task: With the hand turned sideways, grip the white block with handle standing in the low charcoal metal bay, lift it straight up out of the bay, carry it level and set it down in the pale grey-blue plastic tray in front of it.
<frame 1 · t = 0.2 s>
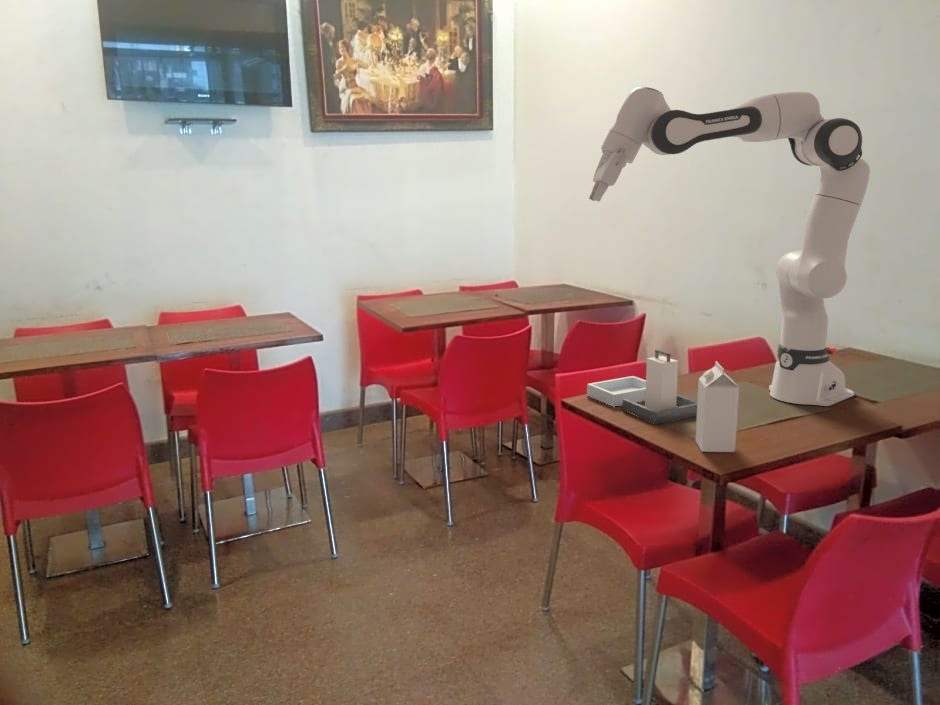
hand: (593, 200, 185), 54 cm above the table, tool tilted 25°, fingers open, 8 cm apart
tray: (623, 397, 199), on the table
milk carton: (714, 447, 161), on the table
white block with handle: (660, 412, 186), on the table
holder: (660, 411, 186), on the table
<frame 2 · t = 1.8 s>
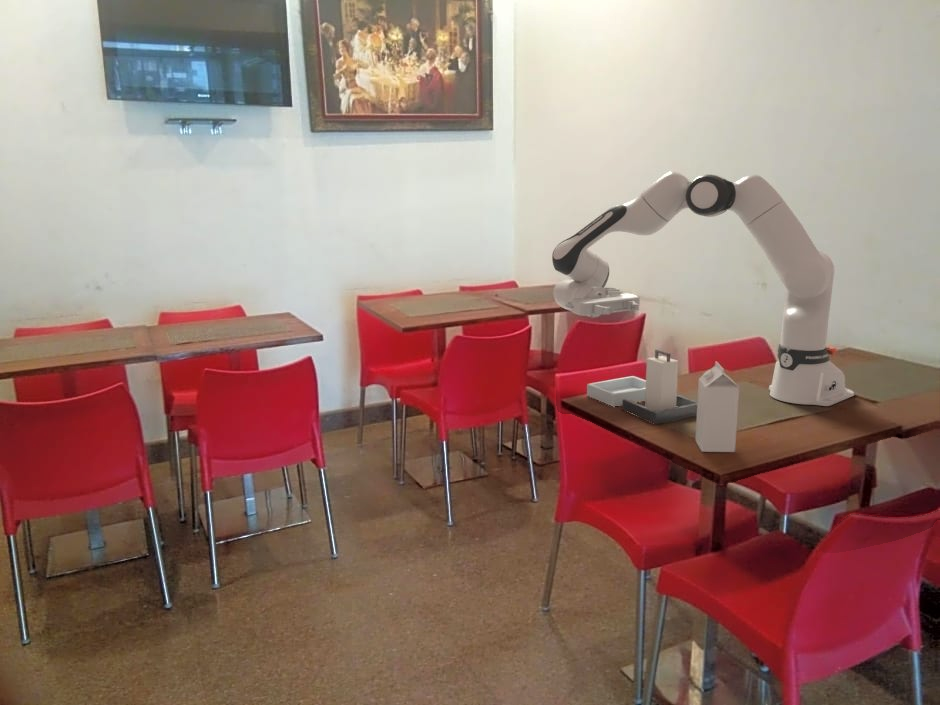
hand: (623, 309, 194), 24 cm above the table, tool horizontal, fingers open, 8 cm apart
nothing on the table moved.
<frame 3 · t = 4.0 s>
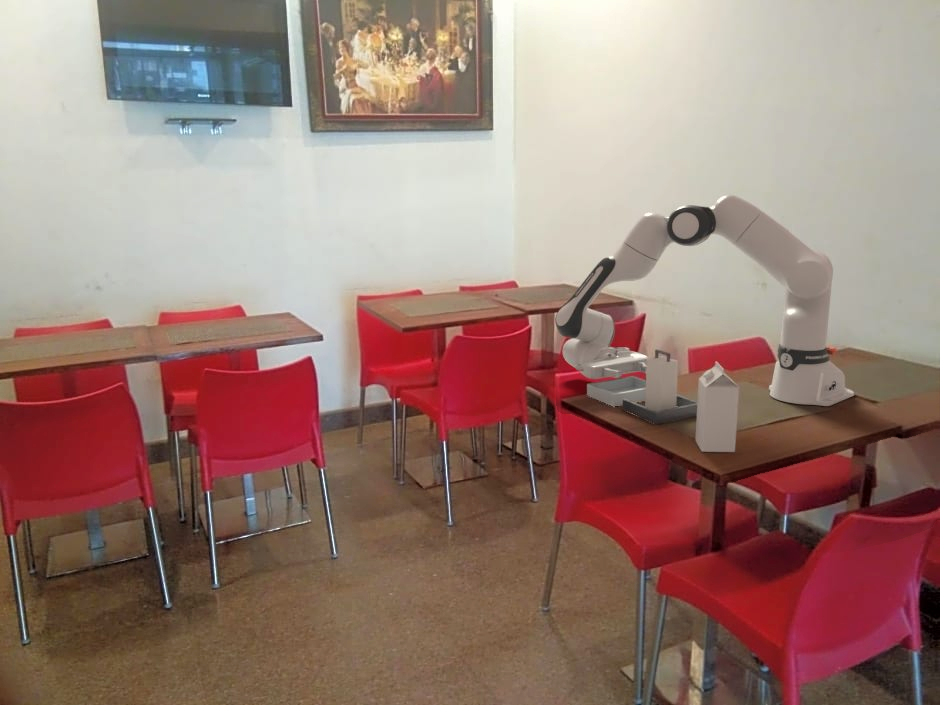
hand: (633, 372, 194), 8 cm above the table, tool horizontal, fingers open, 8 cm apart
nothing on the table moved.
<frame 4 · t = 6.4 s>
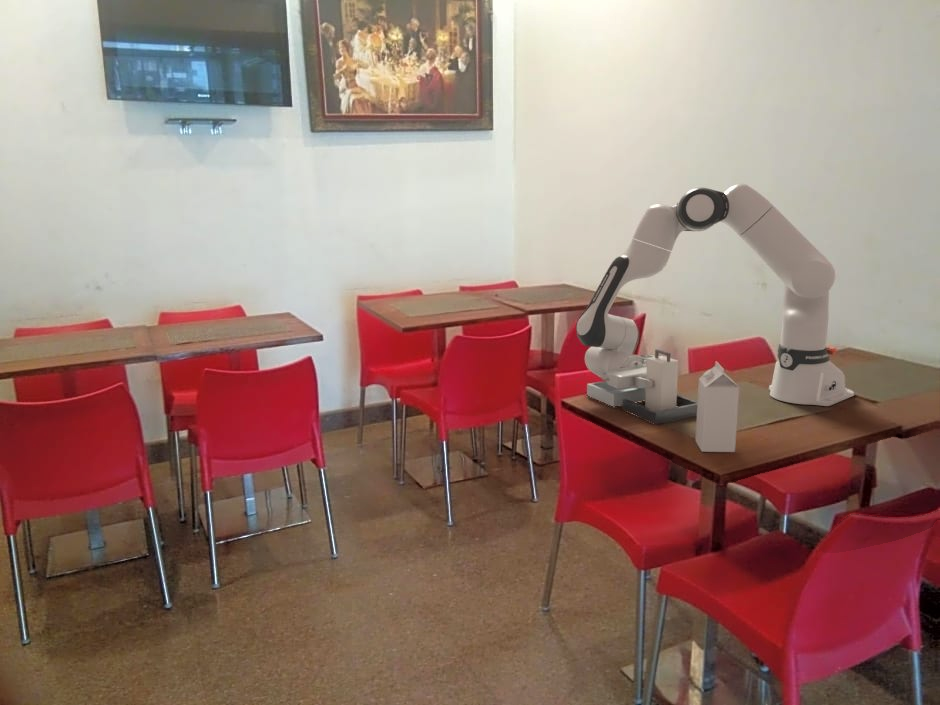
hand: (662, 382, 183), 8 cm above the table, tool horizontal, fingers closed on white block with handle, 5 cm apart
white block with handle: (660, 412, 186), on the table, touching gripper
everything else where it was.
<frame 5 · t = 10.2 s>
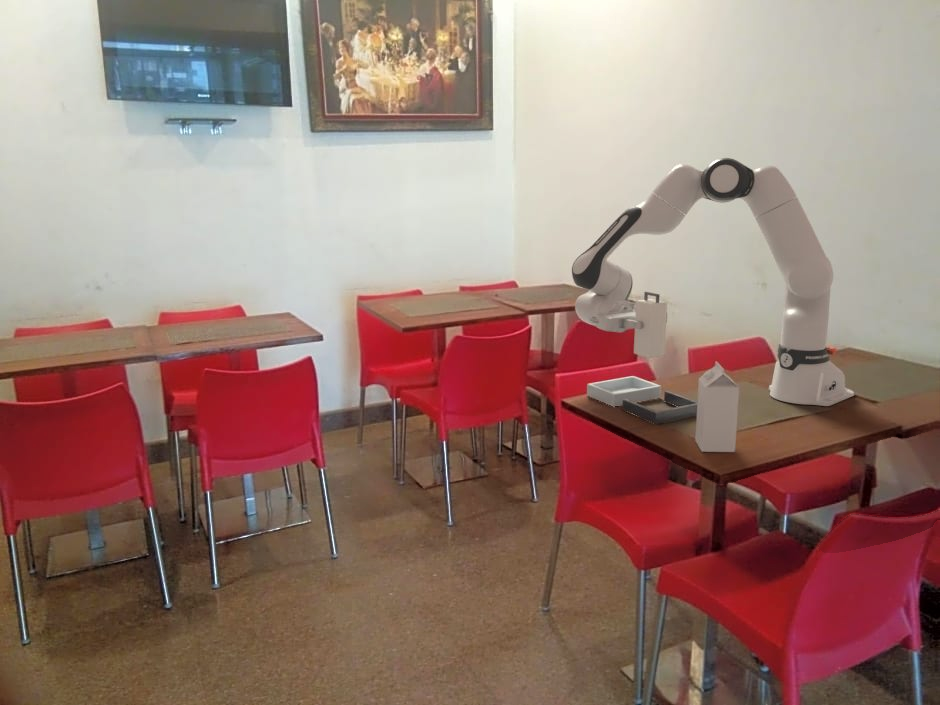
hand: (651, 324, 184), 22 cm above the table, tool horizontal, fingers closed on white block with handle, 5 cm apart
white block with handle: (648, 354, 186), point 14 cm above the table, touching gripper
everything else where it was.
when the fingers open (10 cm above the table, at t = 13.8 s): white block with handle stays where it is, resting on tray.
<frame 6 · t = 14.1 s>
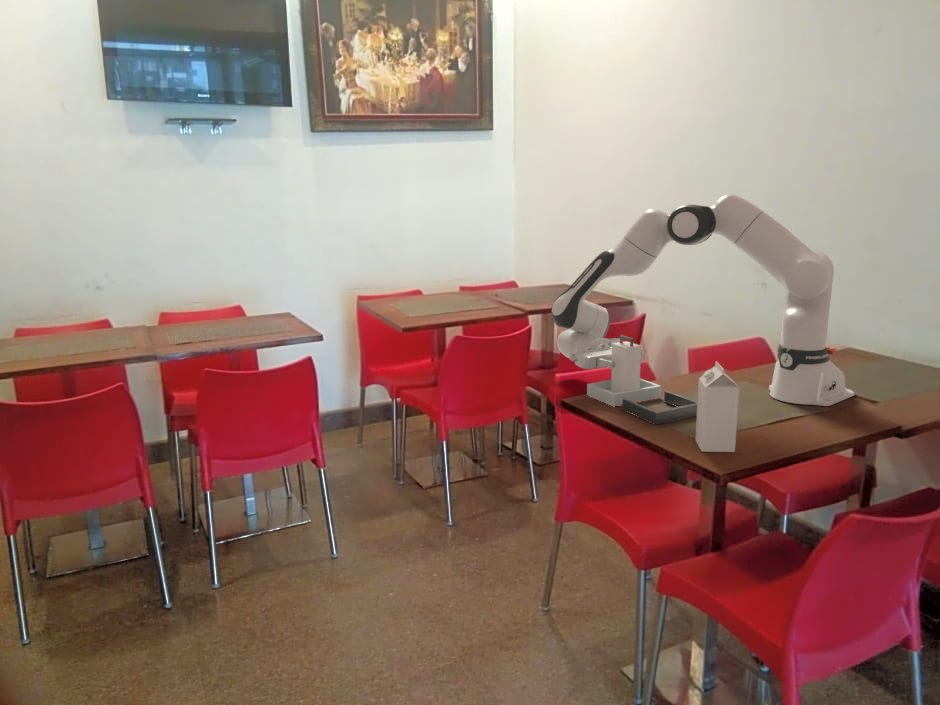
hand: (626, 362, 195), 10 cm above the table, tool horizontal, fingers open, 8 cm apart
white block with handle: (625, 394, 198), point 1 cm above the table, touching tray
everything else where it was.
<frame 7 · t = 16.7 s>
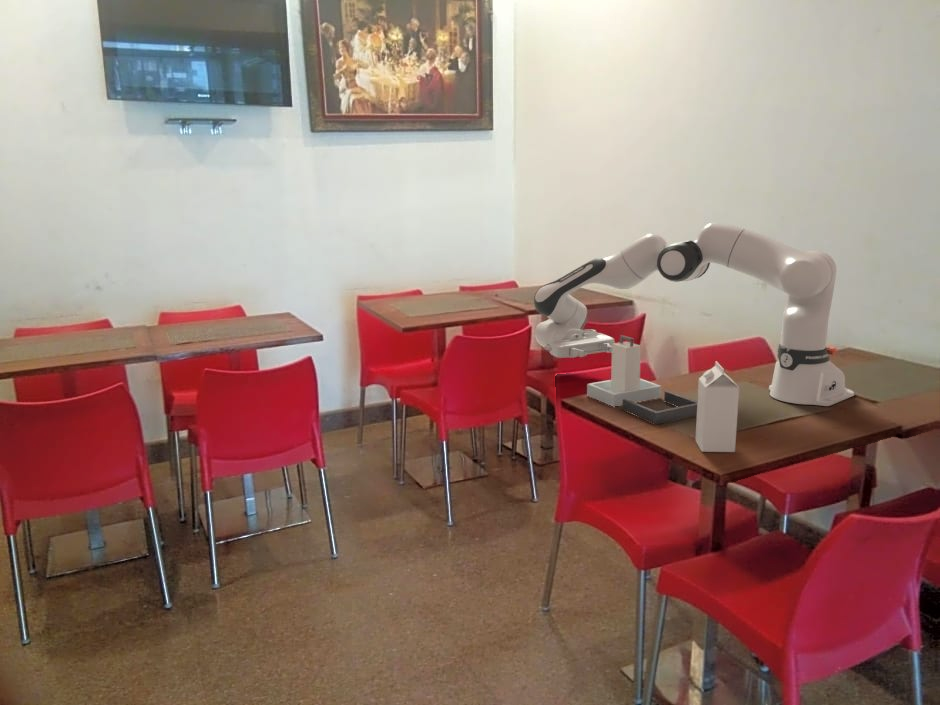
hand: (597, 352, 207), 10 cm above the table, tool horizontal, fingers open, 8 cm apart
nothing on the table moved.
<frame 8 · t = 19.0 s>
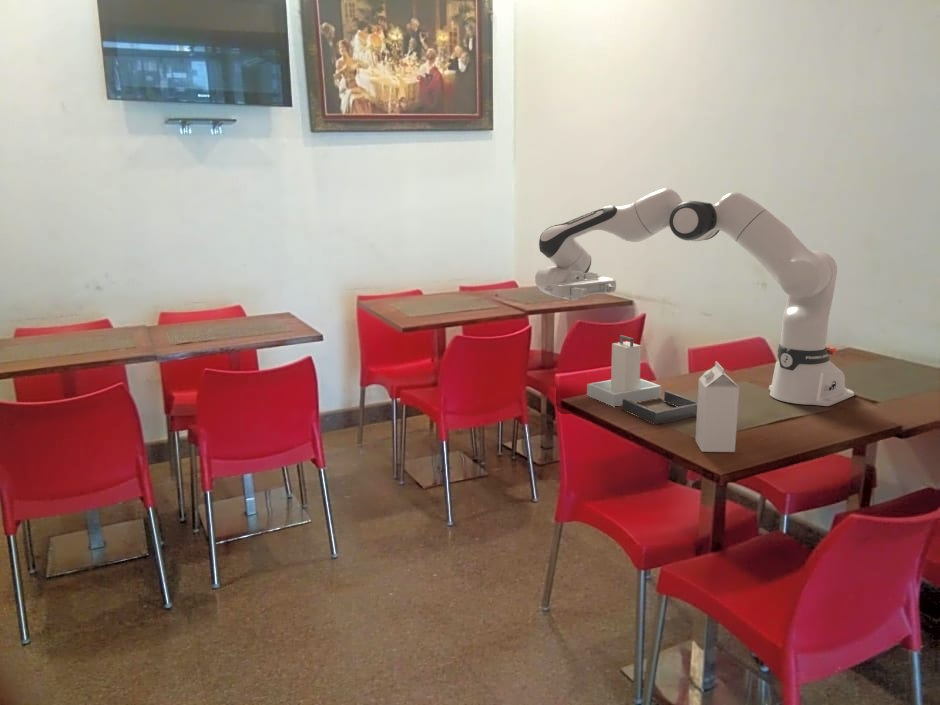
hand: (599, 291, 203), 28 cm above the table, tool horizontal, fingers open, 8 cm apart
nothing on the table moved.
at the end: white block with handle inside the target area on the tray (0.5 cm from its centre), point 1.0 cm above the tray's base; white block with handle tilted 0°; the gripper is holding nothing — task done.
